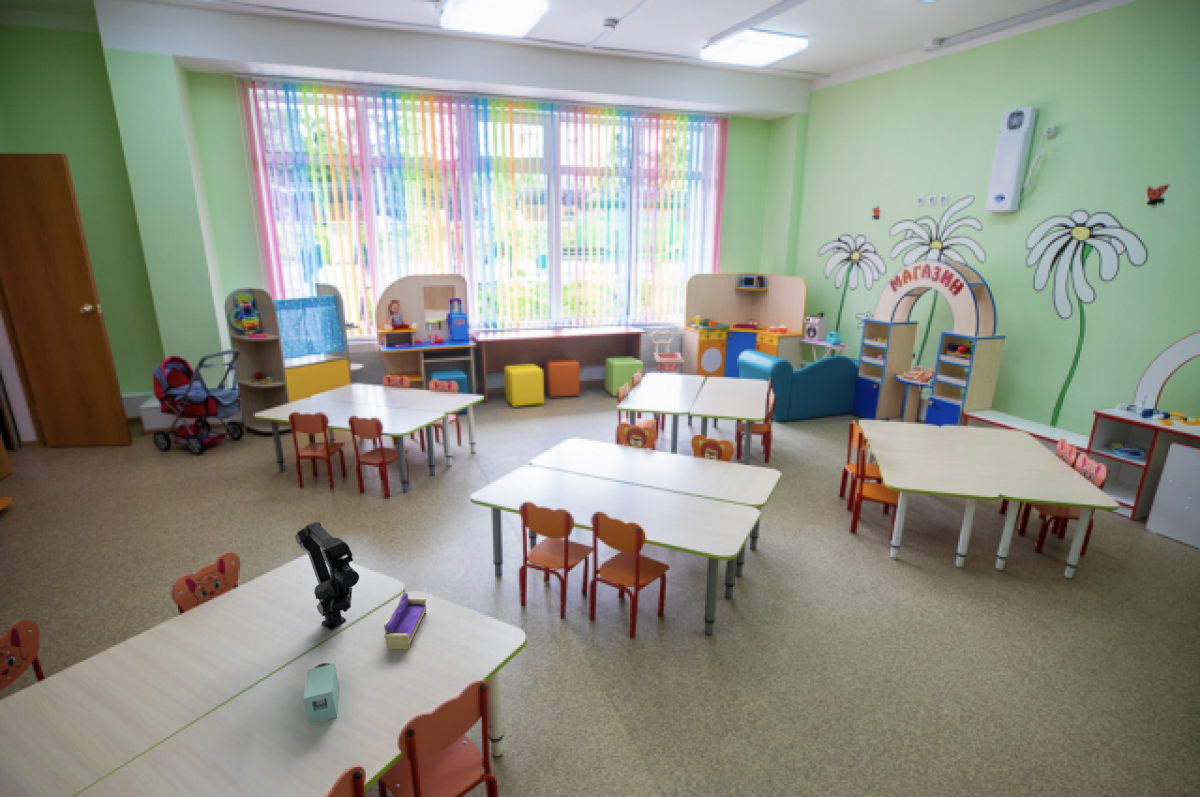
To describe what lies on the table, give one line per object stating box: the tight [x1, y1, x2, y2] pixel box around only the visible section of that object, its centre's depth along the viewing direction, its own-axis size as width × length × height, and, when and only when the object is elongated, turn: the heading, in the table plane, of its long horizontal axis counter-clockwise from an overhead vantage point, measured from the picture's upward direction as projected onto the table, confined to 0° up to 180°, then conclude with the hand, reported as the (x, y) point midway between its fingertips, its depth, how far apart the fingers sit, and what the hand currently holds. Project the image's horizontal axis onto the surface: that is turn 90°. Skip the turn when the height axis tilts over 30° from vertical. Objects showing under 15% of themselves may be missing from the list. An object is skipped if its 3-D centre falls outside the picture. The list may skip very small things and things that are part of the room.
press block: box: [302, 663, 340, 726], centre depth 182 cm, size 12×8×10 cm, turn 20°
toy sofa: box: [383, 592, 427, 650], centre depth 215 cm, size 21×9×10 cm, turn 178°
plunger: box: [314, 662, 331, 705], centre depth 183 cm, size 12×7×7 cm, turn 20°
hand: (345, 611), depth 207 cm, fingers closed
